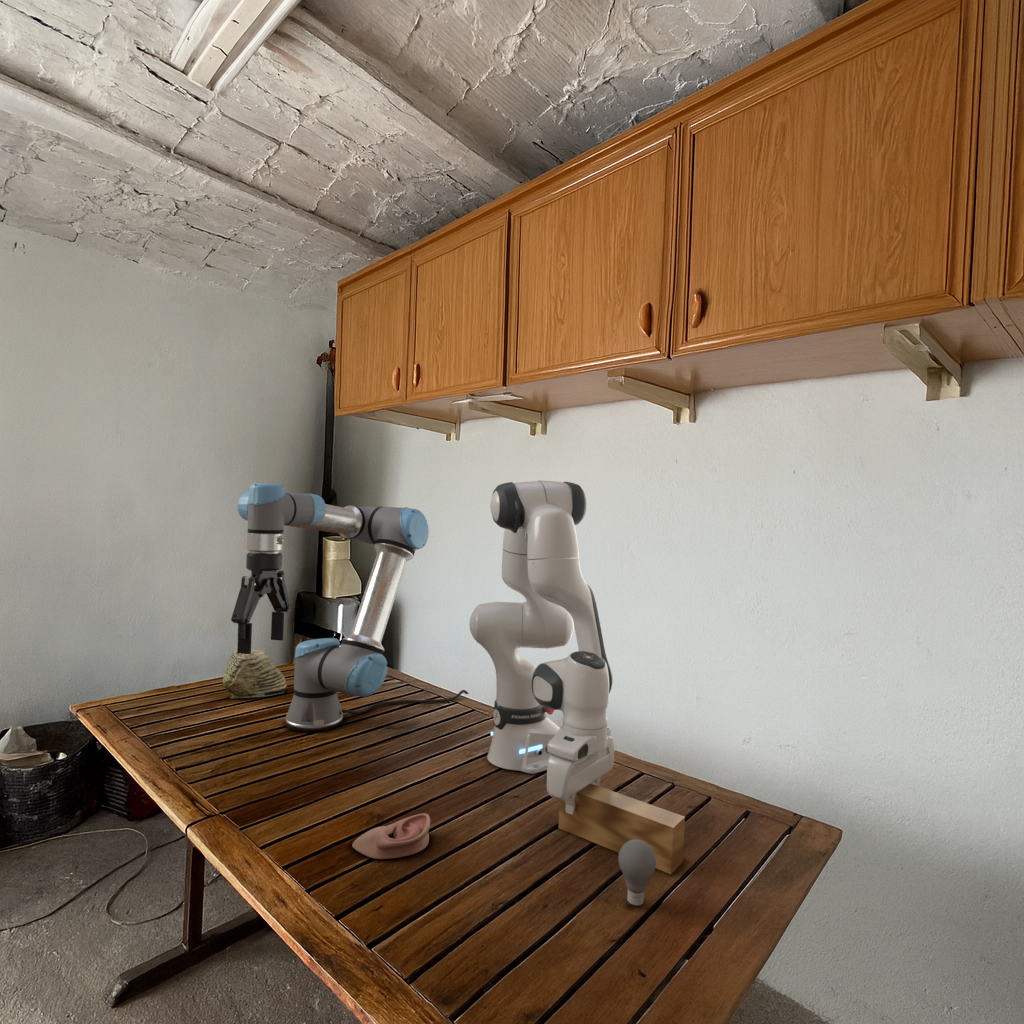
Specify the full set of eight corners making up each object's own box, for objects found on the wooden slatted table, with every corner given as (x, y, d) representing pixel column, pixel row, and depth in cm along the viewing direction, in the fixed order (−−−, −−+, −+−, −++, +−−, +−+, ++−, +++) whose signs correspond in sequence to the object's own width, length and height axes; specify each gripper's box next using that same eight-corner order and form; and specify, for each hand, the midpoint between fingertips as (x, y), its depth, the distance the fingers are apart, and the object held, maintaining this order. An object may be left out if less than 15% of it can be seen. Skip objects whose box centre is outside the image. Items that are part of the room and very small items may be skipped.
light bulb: (612, 891, 105) (615, 832, 105) (647, 891, 106) (650, 832, 105) (621, 915, 99) (624, 852, 99) (659, 914, 100) (662, 852, 99)
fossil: (218, 695, 195) (220, 647, 195) (278, 685, 208) (279, 640, 207) (228, 703, 189) (230, 653, 188) (289, 692, 201) (290, 645, 201)
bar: (682, 862, 115) (685, 816, 115) (671, 875, 111) (673, 827, 111) (572, 818, 130) (574, 777, 130) (558, 828, 125) (560, 786, 125)
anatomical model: (345, 832, 112) (372, 802, 124) (344, 854, 113) (371, 822, 124) (415, 843, 110) (436, 812, 121) (414, 866, 110) (436, 832, 121)
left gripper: (249, 557, 129) (245, 661, 129) (306, 549, 154) (303, 636, 154) (215, 555, 130) (211, 658, 130) (277, 547, 155) (274, 633, 155)
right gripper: (596, 719, 135) (593, 783, 136) (542, 746, 119) (538, 819, 119) (623, 726, 131) (620, 792, 132) (570, 755, 115) (567, 831, 115)
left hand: (261, 646), depth 142 cm, fingers open, 13 cm apart
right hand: (581, 805), depth 125 cm, fingers open, 6 cm apart
